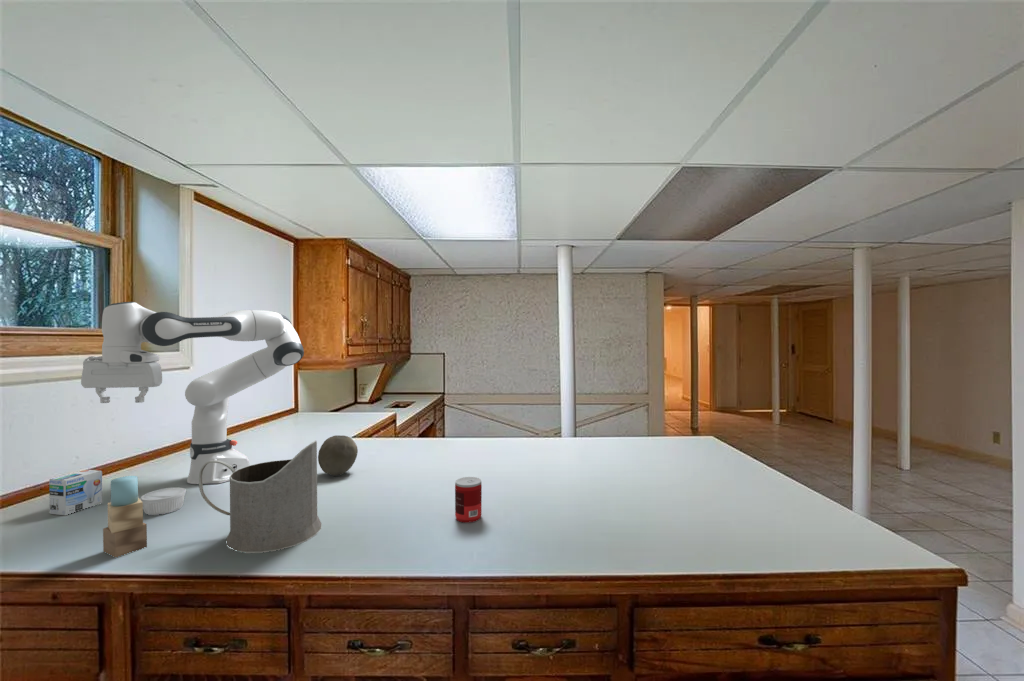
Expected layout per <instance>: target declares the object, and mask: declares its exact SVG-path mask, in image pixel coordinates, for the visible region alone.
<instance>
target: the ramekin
mask: <svg viewBox="0 0 1024 681" xmlns="http://www.w3.org/2000/svg"><path fill="white" fill-rule="evenodd" d="M186 494H187V490H186V488H185V487H178V486H177V487H166V488H165V487H164V488H160V489H155V490H152V491H149V492H146V493H145V494H143V495H141V496H140V500H141V501H142V502H143V513H144V514H146V515H147V514H148V515H147V516H160V515H159V514H162V515H166V514H165V513H167V514H170V513H169V512H171V513H173V511H174V512H176V511H178V510H180V509H181V508H182V507H183V506H184V502H185V497H186Z"/></svg>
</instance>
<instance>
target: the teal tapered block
mask: <svg viewBox="0 0 1024 681" xmlns="http://www.w3.org/2000/svg"><path fill="white" fill-rule="evenodd" d="M138 482H139V478H138V476H137V475H125V476H121V477H117V478H114V479H111V480H110V502H111V506H114V507H119V506H126V505H130V504H133V503H135V502H137V501H138V498H139V489H138V488H139V487H138V486H139V484H138Z"/></svg>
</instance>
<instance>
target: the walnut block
mask: <svg viewBox="0 0 1024 681" xmlns="http://www.w3.org/2000/svg"><path fill="white" fill-rule="evenodd" d="M147 529H148V528H147V523H145V522H143V526H140V527H136V528H132V529H128V530H124V531H120V532H116V533H111V531H110V529H109V528H108V526H107V527H103V528H102V543H103V544H102V545H103V546H102V549H103V551H104V552H106V553H108V554H110V555H112V556H111V557H113V556H114V557H113V558H115V557H117V558H119V557H118V556H120V557H122V556H121V555H123V556H125V555H124V554H126V555H128V554H127V553H129V552H131V553H133V552H132V551H134V552H137V551H140V550H142V548H143V549H145V548H144V547H146V548H148V534H147V532H148V530H147ZM139 549H140V550H139ZM136 550H137V551H136ZM103 551H102V552H103ZM104 552H103V553H104ZM106 553H105V554H106ZM108 554H107V555H108ZM129 554H130V553H129ZM110 555H109V556H110Z"/></svg>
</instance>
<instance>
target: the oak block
mask: <svg viewBox="0 0 1024 681" xmlns="http://www.w3.org/2000/svg"><path fill="white" fill-rule="evenodd" d="M143 523H144V509H143V502H142V501H141V498H139V497H138V501H137V502H135V503H133V504H130V505H126V506H119V507H114V506H111V501H110V502H107V527H108V528H109V529H110V531H111V533H116V532H120V531H124V530H128V529H132V528H136V527H140V526H143Z"/></svg>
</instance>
